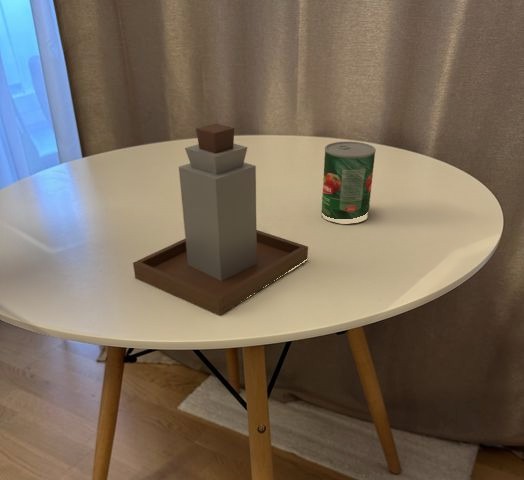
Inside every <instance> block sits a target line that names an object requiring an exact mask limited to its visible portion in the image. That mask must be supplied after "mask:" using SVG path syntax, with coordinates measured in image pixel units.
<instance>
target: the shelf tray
mask: <svg viewBox="0 0 524 480" xmlns="http://www.w3.org/2000/svg"><path fill="white" fill-rule="evenodd" d="M256 233H257V264H255V265H253V266H251V267H249V268H247V269H245V270H243V271H241V272H239V273H237V274H235V275H233V276H231V277H228V278H226V279H224V280H222V281H220V280H218V279H216V278H214V277H212V276H210V275H208V274H206V273H204V272H202V271H200V270H198V269H195V268H193V267H191V266H189V265H188V260H187V249H186V239H185V238H183V239H181V240H179V241H176V242H174V243H172V244H170V245H168V246H166V247H164V248H162V249H159V250H157V251H155V252H153V253H150V254H149V255H146V256H145V257H142V258H139V259H137V260H136V261H134V262H133V261H132V267H133V272H134V278H135V279H137V280H139V281H141V282H144V283H146V284H148V285H150V286H153V287H155V288H157V289H159V290H162V291H164V292H166V293H169V294H170V295H173V296H175V297H178V298H179V299H182V300H183V301H186V302H187V303H191V304H193V305H195V306H197V307H199V308H202V309H204V310H206V311H208V312H211V313H212V314H215V313H216V314H215V315H217V314H218V315H217V316H221V314H222V315H223V314H225V313H227V312H228V311H230V310H232V309H233V308H234V307H233V306H235V305H236V306H238V305H239V304H238V303H240V302H241V301H243V300H244V299H246V298H247V297H249V296H250V295H252V296H254V295H255V294H254V293H256V292H257V291H259V290H260V289H262V288H263V287H265V286H266V285H268V284H270V283H271V282H273V281H274V280H276V279H277V278H279V277H280V276H282V275H284V274H285V273H286V272H288V271H289V270H291V269H292V268H294V267H295V266H297V265H299V264H300V263H302V262H303V261H304V260H306V259H307V258H309V246H307V245H305V244H301V243H299V242H295V241H292V240H289V239H286V238H283V237H280V236H277V235H274V234H270V233H269V232H268V233H267V232H265V231H261V230H259V229H256ZM284 276H285V275H284ZM276 281H277V280H276ZM273 283H274V282H273ZM270 285H271V284H270ZM268 286H269V285H268ZM265 288H266V287H265ZM262 290H263V289H262ZM260 291H261V290H260ZM260 291H259V292H260ZM257 293H258V292H257ZM257 293H256V294H257ZM253 294H254V295H253ZM249 298H250V297H249ZM246 300H247V299H246ZM244 301H245V300H244ZM244 301H243V302H244ZM241 303H242V302H241ZM241 303H240V304H241ZM237 304H238V305H237ZM236 306H235V307H236ZM232 307H233V308H232ZM229 309H230V310H229ZM227 310H228V311H227ZM226 311H227V312H226Z"/></svg>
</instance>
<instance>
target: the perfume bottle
mask: <svg viewBox="0 0 524 480" xmlns="http://www.w3.org/2000/svg"><path fill="white" fill-rule="evenodd" d="M195 131H196V138H197V144H194V145H191V146H187V147H184V150H185V152H186V155H187V158H188V161H189V163H187V164H182V165H180V166H178V175H179V183H180V184H179V185H180V195H181V196H180V197H181V205H182V216H183V226H184V227H183V228H184V237H185V238H184V239H186V249H187V260H188V265H189V266H191V267H193V268H195V269H198V270H200V271H202V272H204V273H206V274H208V275H210V276H212V277H214V278H216V279H218V280H220V281H222V280H224V279H226V278H228V277H231V276H233V275H235V274H237V273H239V272H241V271H243V270H245V269H247V268H249V267H251V266H253V265H255V264H257V233H256V230H257V165H255V164H252V163H247V162H245V159H246V155H247V152H248V148H249V147H248V146H245V145H241V144H238V143H235V127H231V126H228V125H224V124H220V123H212V124H209V125H205V126H200V127H196V128H195Z"/></svg>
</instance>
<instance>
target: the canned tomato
mask: <svg viewBox="0 0 524 480" xmlns="http://www.w3.org/2000/svg"><path fill="white" fill-rule="evenodd" d="M376 151H377V150H376V148H375V147H374V146H373V145H372V144H368V143H366V142H359V141H347V140H345V141H336V142H331V143H329V144H327V145H325V146H324V162H323V163H324V164H323V177H322V178H323V179H322V180H323V181H322V197H321V212H322V213H323V214H324V215H325V216H327V217H330V218H334V219H353V218H357V217H360V216H363V215H365V214H366V213H367V212H368V211H369V212H370V202H371V193H372V184H373V174H374V167H375V158H376V157H375V155H376ZM369 212H368V213H369Z"/></svg>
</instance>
